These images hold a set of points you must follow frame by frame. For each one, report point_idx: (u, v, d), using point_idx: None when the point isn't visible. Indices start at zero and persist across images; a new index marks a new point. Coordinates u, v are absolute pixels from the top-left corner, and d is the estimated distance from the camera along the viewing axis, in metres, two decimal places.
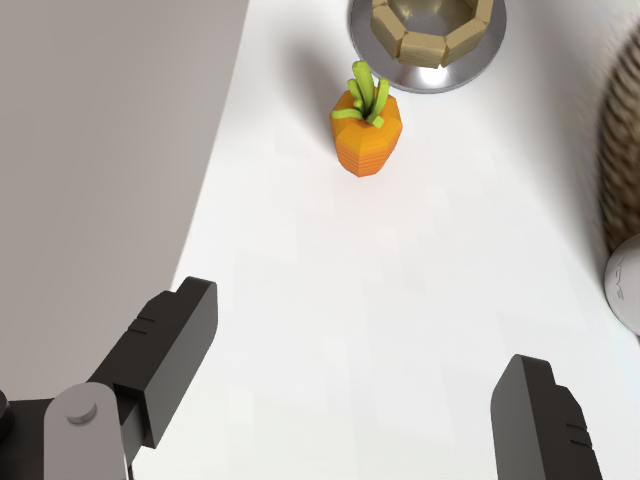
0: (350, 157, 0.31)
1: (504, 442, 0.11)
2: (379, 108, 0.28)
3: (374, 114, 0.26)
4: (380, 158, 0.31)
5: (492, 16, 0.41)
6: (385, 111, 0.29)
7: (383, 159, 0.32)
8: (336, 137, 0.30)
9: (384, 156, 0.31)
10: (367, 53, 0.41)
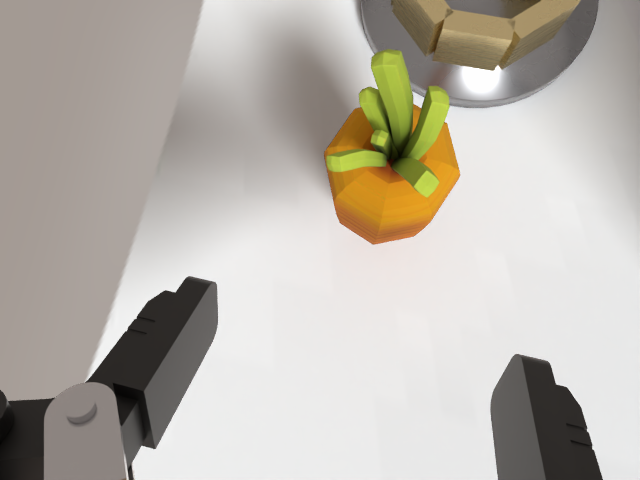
0: (361, 227, 0.17)
1: (504, 442, 0.11)
2: (422, 148, 0.14)
3: (417, 165, 0.12)
4: (415, 229, 0.17)
5: None
6: (431, 150, 0.15)
7: (419, 230, 0.18)
8: (336, 196, 0.16)
9: (422, 227, 0.17)
10: (385, 45, 0.27)
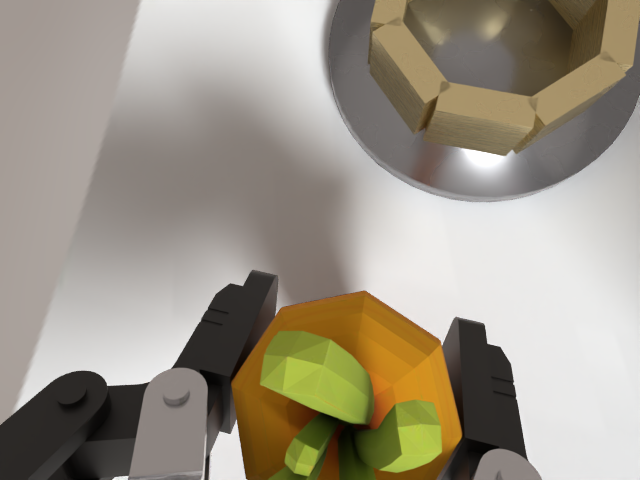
0: None
1: None
2: None
3: None
4: None
5: None
6: None
7: None
8: None
9: None
10: (360, 118, 0.20)
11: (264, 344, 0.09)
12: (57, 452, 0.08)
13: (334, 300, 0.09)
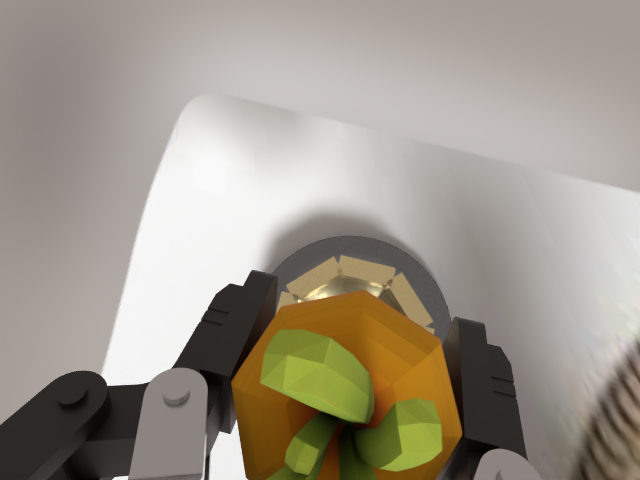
0: None
1: None
2: None
3: None
4: None
5: None
6: None
7: None
8: (245, 472, 0.09)
9: None
10: None
11: (264, 343, 0.09)
12: (57, 452, 0.08)
13: (334, 299, 0.09)
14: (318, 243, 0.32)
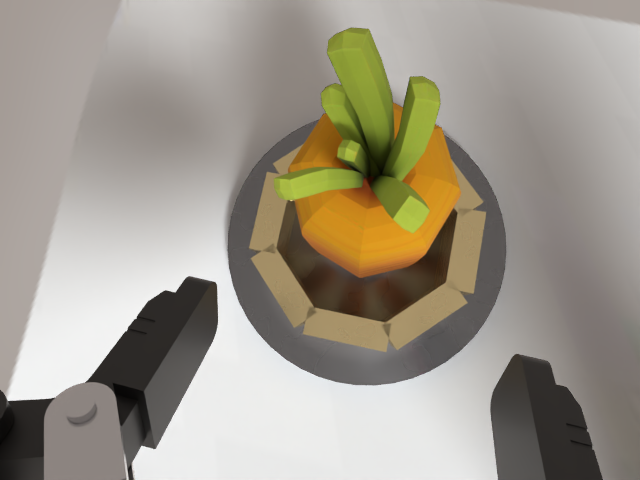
0: (339, 261, 0.14)
1: (504, 442, 0.11)
2: (408, 162, 0.10)
3: (398, 188, 0.09)
4: (408, 262, 0.14)
5: None
6: (422, 164, 0.12)
7: (413, 262, 0.14)
8: (302, 226, 0.12)
9: (417, 259, 0.14)
10: (254, 310, 0.23)
11: (312, 134, 0.13)
12: None
13: None
14: (316, 123, 0.24)
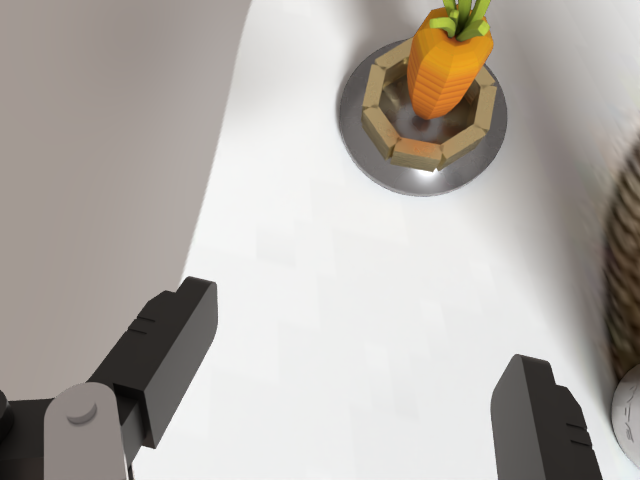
0: (432, 85, 0.29)
1: (504, 442, 0.11)
2: None
3: (478, 21, 0.24)
4: (465, 85, 0.29)
5: (491, 113, 0.38)
6: None
7: (467, 88, 0.30)
8: (422, 58, 0.28)
9: (470, 83, 0.29)
10: (357, 152, 0.38)
11: (427, 18, 0.28)
12: None
13: None
14: (393, 44, 0.39)
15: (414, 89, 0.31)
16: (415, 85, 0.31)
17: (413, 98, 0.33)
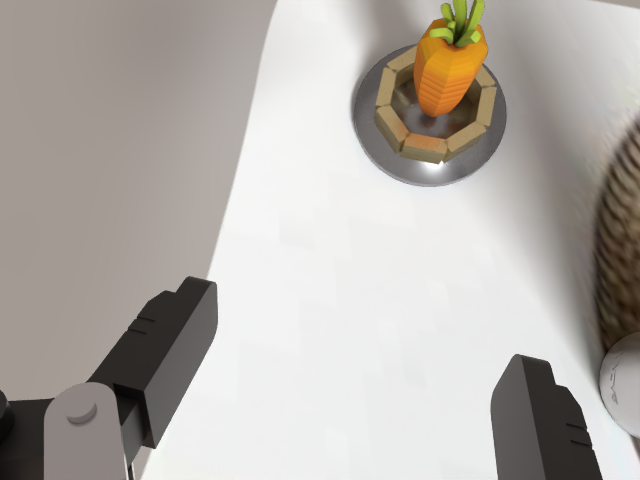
0: (435, 85, 0.33)
1: (504, 442, 0.11)
2: (471, 29, 0.29)
3: (471, 30, 0.28)
4: (464, 85, 0.33)
5: (492, 111, 0.42)
6: None
7: (466, 88, 0.34)
8: (425, 63, 0.32)
9: (468, 83, 0.33)
10: (370, 146, 0.42)
11: (429, 28, 0.32)
12: None
13: None
14: (403, 49, 0.43)
15: (420, 90, 0.35)
16: (420, 86, 0.35)
17: (419, 98, 0.37)
